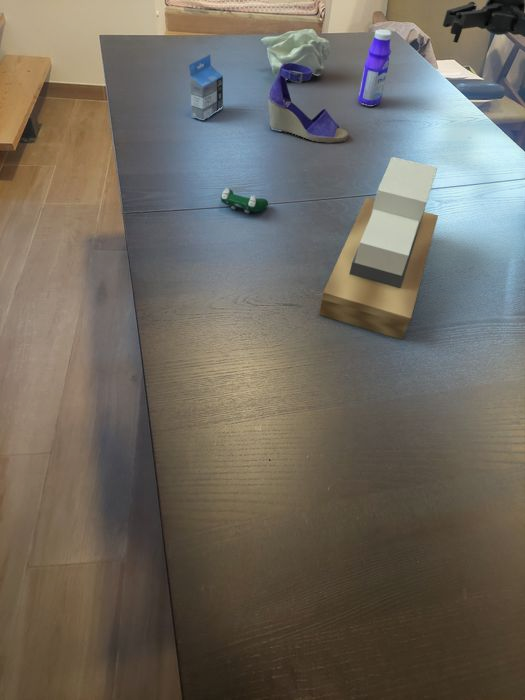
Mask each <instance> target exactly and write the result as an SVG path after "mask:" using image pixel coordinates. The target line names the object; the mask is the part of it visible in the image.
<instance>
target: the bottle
mask: <svg viewBox="0 0 525 700" xmlns="http://www.w3.org/2000/svg"><path fill="white" fill-rule="evenodd" d="M392 34H393V33H392V31H390V30H388V29H385V28H384V29H383V28H382V29H381V28H379V29H376V30H375V32H374V37H373V41H372V43H371V45H370V47H369V48H368V55H367V57H366V59H365V62H364V67H363V72H362V77H361V82H360V88H359V93H358V99H357V100H358V103H359V102H361V103H364V104H367V105H375V104H377V105H379V104H380V102H381V101H382V98H383V93H384V90H385V89H384V88H385V85H386V79H387V75H388V71H389V66H390V55H391V54H392V51H391V39H392ZM378 103H379V104H378Z"/></svg>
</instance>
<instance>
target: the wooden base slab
mask: <svg viewBox="0 0 525 700" xmlns="http://www.w3.org/2000/svg"><path fill="white" fill-rule="evenodd" d="M375 199H376V198H371V197H368V196H367V197H365V199H364V201H363V204H362V206H361V208H360V210H359V213H358V215H357V216H356V219H355V221H354V223H353V226H352V228H351V230H350V232H349V234H348V237H347V239H346V240H345V243H344V244H343V245H344V246H343V248H342V250H341V252H340V254H339V256H338V259H337V261H336V263H335V265H334V267H333V270H332V272H331V274H330V276H329V278H328V280H327V283H326V285H325V287H324V290H323V292H322V297H321V301H320V306H319V311H318V315H319V316H322V317H324V318H329V319H332V320H335V321H338V322H342V323H345V324H349V325H351V326H355V327H357V328H361V329H365V330H368V331H371V332H375V333H378V334H381V335H384V336H387V337H391V338H395V339H397V340H401V341H403V340H404V337H405V335H406V332H407V330H408V327H409V326H410V323H411V320H412V316H413V313H414V309H415V306H416V301H417V299H418V295H419V294H418V293H419V290H420V287H421V283H422V278H423V274H424V271H425V267H426V263H427V260H428V256H429V252H430V248H431V245H432V241H433V236H434V234H435V229H436V225H437V221H438V217H439V215H438V214H435V213H431V212H426V211H424V213H423V217H422V220H421V223H420V227H419V230H418V233H417V237H416V240H415V243H414V247H413V250H412V253H411V257H410V260H409V263H408V267H407V270H406V273H405V277H404V280H403V282H402V285H401V288H397V287H393V286H390V285H386V284H383V283H379V282H376V281H372V280H369V279H365V278H362V277H358V276H355V275H351V274H349V273H350V269H351V265H352V261H353V259H354V257H355V254H356V252H357V249H358V247H359V244H360V241H361V239H362V236H363V234H364V232H365V229H366V227H367V225H368V222H369V220H370V217H371V214H372V210H373V206H374V202H375Z"/></svg>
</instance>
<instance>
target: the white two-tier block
mask: <svg viewBox="0 0 525 700" xmlns="http://www.w3.org/2000/svg"><path fill="white" fill-rule="evenodd" d="M437 170H438V167H437V166H433V165H429V164H425V163H420V162H416V161H413V160H412V161H411V160H407V159H404V158H399V157H395V156H392V157H391V158H390V161H389V163H388V165H387V168H386V170H385V172H384V175H383V177H382V179H381V182H380V184H379V186H378V189H377V190H376V195H375V198H374V199H375V202H374V206H373V210H372V214H371V217H370V220H369V222H368V225H367V227H366V229H365V232H364V234H363V236H362V239H361V241H360V244H359V247H358V249H357V252H356V254H355V257H354V259H353V261H352V265H351V269H350V273H349V274H351V275H355V276H358V277H362V278H365V279H369V280H372V281H376V282H379V283H383V284H386V285H390V286H393V287H397V288H401V285H402V282H403V280H404V277H405V273H406V270H407V267H408V263H409V260H410V257H411V253H412V250H413V247H414V243H415V240H416V237H417V233H418V230H419V227H420V223H421V220H422V217H423V213H424V212H425V210H426V206H427V203H428V200H429V197H430V194H431V190H432V187H433V184H434V180H435V177H436V173H437Z"/></svg>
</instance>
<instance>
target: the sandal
mask: <svg viewBox="0 0 525 700" xmlns="http://www.w3.org/2000/svg"><path fill="white" fill-rule="evenodd" d="M294 73H295V74H294ZM302 73H303V74H302ZM285 78H287V79H289V80H288V81H290V82H291V83H297V84H301V83H303V82H306V81H309V80H311V79H312V69H310V68H309V67H306V66H303V65H300V64H295V63H286V64H285V63H284V64H282V65H281V68H280V72H279V75H278V77H277V78H276V79H275V81H274V82H273V84H272V86H271V87H270V91H269V96H268V111H269V126H271V127H272V128H274V129H277V130H281V131H286V132H285V133H287V132H290V133H292V134H291V135H293V134H295V135H294V136H296V135H298V136H297V137H299V136H301V137H303V138H302V139H304V138H306V139H309V140H312V141H311V142H313V141H317V142H316V143H318V142H333V143H332V144H335V143H334V142H340V143H342V142H341V141H344V140H346V141H347V139H348V137H349V136H348V135H349V133H348V131H347V130H346V129H344V128H341V127H340V125H339V124H338V123H337V122H336V121H335V120H334V119H333V117H332V116H331V115H330V114H329V112H328V110H327V109H326V108H323V109H321V110H320V111H319V112H318V113H317V114H316V115H315V116H314V117H313V118H312V119H311V118H310V117H309V116H308V115H307V114H306V113H305V112H304V111H303V110H302V109H300V108H299V106H297V104H296V103H294V102H293V101H292V99H291V95H290V91H289V87H288V83H287V81H286V79H285ZM290 133H289V134H290ZM301 137H300V138H301ZM306 139H305V140H306ZM309 140H308V141H309ZM344 142H345V141H344Z"/></svg>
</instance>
